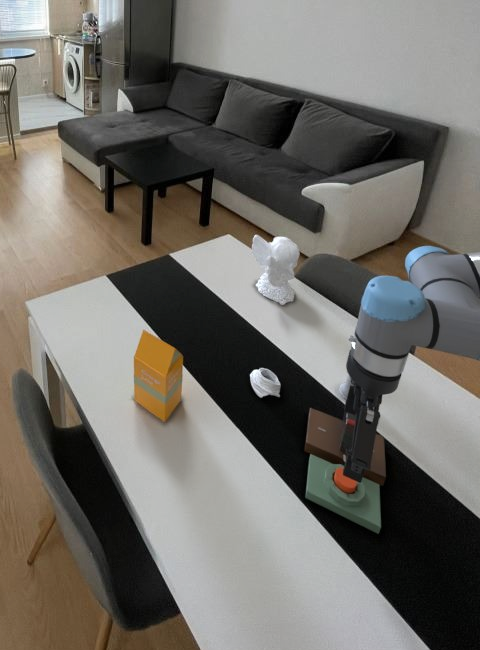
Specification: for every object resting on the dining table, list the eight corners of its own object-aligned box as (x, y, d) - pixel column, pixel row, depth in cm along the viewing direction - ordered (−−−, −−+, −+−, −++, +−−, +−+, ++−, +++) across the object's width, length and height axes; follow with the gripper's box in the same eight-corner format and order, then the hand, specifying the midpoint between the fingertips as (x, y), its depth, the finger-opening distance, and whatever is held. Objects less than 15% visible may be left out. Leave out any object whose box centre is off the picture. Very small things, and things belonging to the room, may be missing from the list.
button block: (377, 491, 84) (381, 478, 82) (378, 534, 78) (383, 521, 76) (308, 460, 90) (311, 448, 88) (305, 498, 84) (308, 485, 82)
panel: (380, 443, 92) (384, 433, 91) (383, 489, 84) (386, 479, 83) (308, 414, 99) (310, 404, 98) (304, 454, 91) (306, 444, 90)
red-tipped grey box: (340, 425, 93) (347, 398, 90) (350, 429, 92) (357, 402, 89) (339, 449, 89) (346, 423, 86) (349, 454, 88) (357, 427, 85)
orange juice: (164, 422, 99) (166, 359, 92) (133, 400, 105) (132, 339, 97) (181, 399, 104) (184, 337, 97) (151, 379, 110) (151, 319, 103)
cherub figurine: (303, 307, 130) (313, 253, 122) (262, 309, 130) (269, 255, 123) (284, 279, 142) (292, 228, 134) (247, 280, 142) (252, 230, 135)
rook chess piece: (362, 405, 100) (369, 381, 97) (340, 400, 102) (346, 376, 99) (357, 389, 104) (364, 365, 101) (336, 384, 106) (342, 361, 103)
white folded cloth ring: (244, 378, 110) (243, 363, 108) (268, 371, 110) (268, 356, 109) (261, 404, 102) (261, 389, 101) (287, 397, 103) (287, 382, 101)
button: (355, 479, 83) (357, 473, 82) (355, 497, 80) (357, 491, 79) (334, 469, 85) (335, 463, 84) (333, 487, 82) (334, 481, 81)
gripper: (350, 305, 84) (331, 382, 92) (349, 411, 64) (325, 497, 72) (396, 318, 80) (373, 397, 88) (410, 435, 61) (378, 522, 69)
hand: (351, 442), depth 80 cm, fingers open, 13 cm apart
